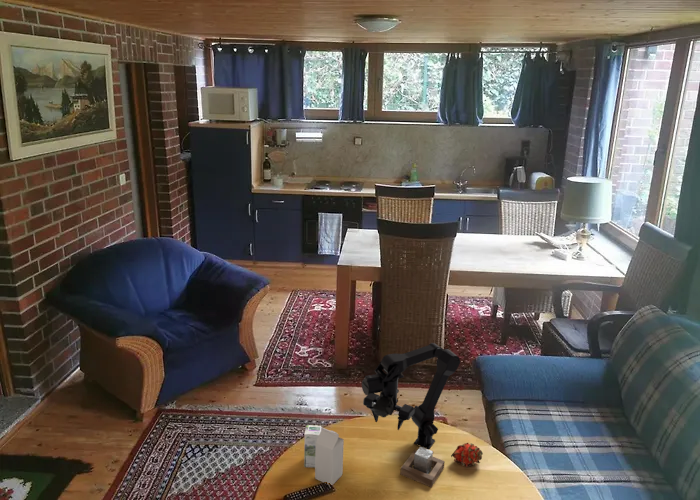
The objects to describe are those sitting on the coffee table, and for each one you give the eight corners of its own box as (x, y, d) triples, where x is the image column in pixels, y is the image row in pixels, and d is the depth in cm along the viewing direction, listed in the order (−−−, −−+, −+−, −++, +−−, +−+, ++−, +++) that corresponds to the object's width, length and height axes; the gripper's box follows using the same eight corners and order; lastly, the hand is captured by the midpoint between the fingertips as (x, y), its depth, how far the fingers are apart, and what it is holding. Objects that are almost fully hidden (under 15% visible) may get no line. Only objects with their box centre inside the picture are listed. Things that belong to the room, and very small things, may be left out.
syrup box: (320, 458, 205) (321, 424, 201) (319, 468, 200) (320, 434, 196) (305, 457, 206) (306, 423, 201) (303, 468, 200) (304, 433, 196)
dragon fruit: (484, 468, 206) (452, 472, 206) (478, 445, 211) (447, 448, 211) (487, 461, 199) (454, 465, 199) (481, 438, 204) (449, 441, 204)
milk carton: (331, 486, 191) (332, 439, 186) (314, 478, 195) (315, 432, 189) (342, 475, 197) (344, 429, 192) (326, 467, 201) (327, 422, 195)
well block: (414, 456, 208) (414, 449, 207) (444, 467, 203) (444, 461, 202) (400, 474, 198) (400, 467, 197) (431, 487, 193) (432, 480, 192)
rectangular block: (418, 465, 204) (420, 446, 201) (431, 469, 201) (433, 451, 199) (413, 472, 200) (414, 454, 197) (426, 477, 197) (427, 458, 195)
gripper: (356, 391, 200) (355, 428, 204) (403, 407, 191) (400, 445, 195) (371, 377, 209) (369, 413, 213) (416, 392, 200) (413, 429, 204)
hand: (387, 425), depth 206 cm, fingers open, 9 cm apart
